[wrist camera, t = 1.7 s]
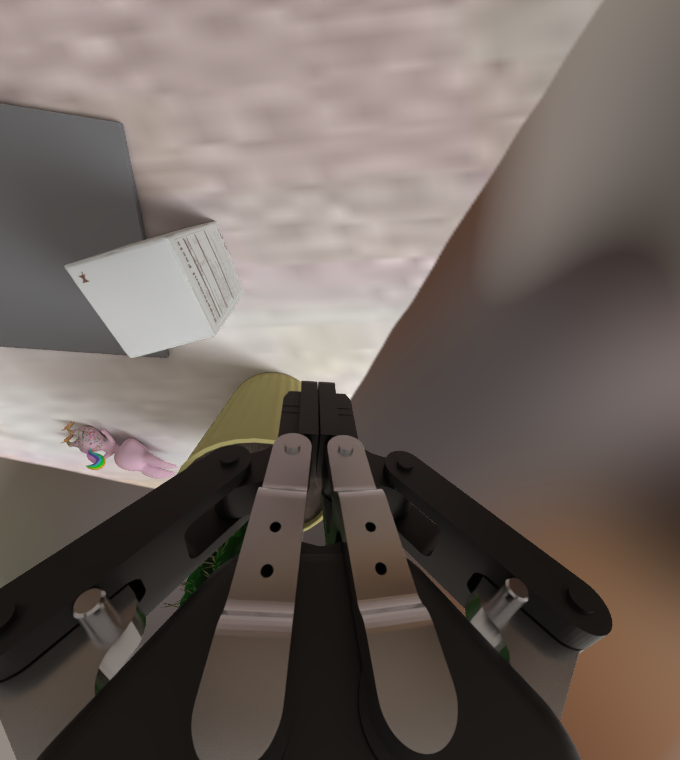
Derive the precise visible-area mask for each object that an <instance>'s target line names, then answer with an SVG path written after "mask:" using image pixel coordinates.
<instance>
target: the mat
mask: <svg viewBox="0 0 680 760" xmlns="http://www.w3.org/2000/svg"><path fill="white" fill-rule="evenodd" d="M143 240H146V238H145V233H144V228H143V223H142V218H141V213H140V208H139V203H138V198H137V193H136V188H135V183H134V178H133V172H132V167H131V162H130V157H129V152H128V147H127V142H126V137H125V132H124V127H123V124H122V123H119V122H113V121H106V120H100V119H94V118H88V117H82V116H76V115H70V114H63V113H57V112H51V111H45V110H39V109H33V108H27V107H20V106H14V105H8V104H2V103H0V347H15V348H29V349H44V350H58V351H73V352H87V353H102V354H116V355H127V354H126V352H125V351H124V350H123V348H122V347H121V346H120V344H119V343H118V341H117V340H116V339H115V337H114V336H113V334H112V333H111V332H110V330H109V329H108V328H107V326H106V325H105V323H104V322H103V321H102V319H101V318H100V316H99V315H98V314H97V312H96V311H95V310H94V308H93V307H92V305H91V304H90V303H89V301H88V300H87V298H86V297H85V296H84V294H83V293H82V292H81V290H80V289H79V287H78V286H77V284H76V283H75V282H74V280H73V279H72V277H71V276H70V274H69V273H68V272H67V270H66V269H65V268H64V266H65V265H67V264H70V263H73V262H76V261H80V260H83V259H86V258H89V257H92V256H95V255H98V254H101V253H104V252H108V251H111V250H114V249H117V248H120V247H123V246H126V245H129V244H133V243H136V242H139V241H143ZM143 356H145V357H160V358H167V357H168V356H169V354H168V349H166V350H162V351H158V352H154V353H151V354H147V355H143Z"/></svg>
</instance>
